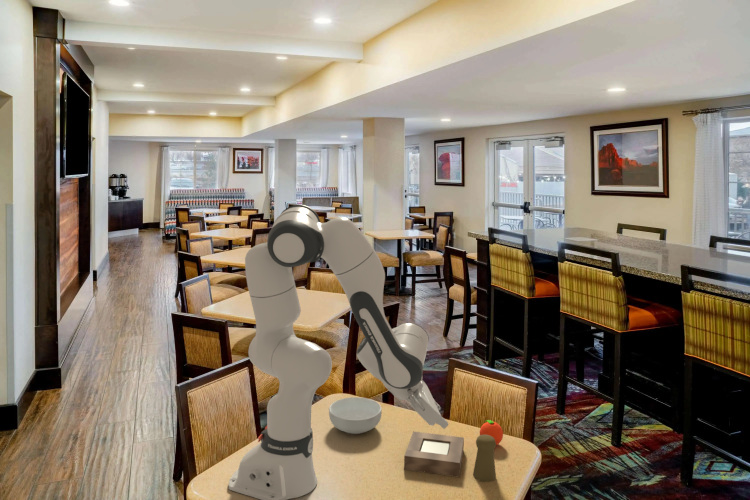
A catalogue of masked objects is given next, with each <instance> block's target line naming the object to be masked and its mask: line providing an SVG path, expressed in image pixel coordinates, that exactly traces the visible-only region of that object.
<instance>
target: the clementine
mask: <svg viewBox="0 0 750 500" xmlns="http://www.w3.org/2000/svg"><path fill="white" fill-rule="evenodd" d="M480 435H490V436H492V437H493V438H494V439H495V441H496V446H497V445H499V444H500V443H501V442H502V440H503V437H504V431H503V429H502V427H501V425H500V424H499V423H498V422H496V421H493V420H491V419H488V420H487V419H486V420H484V423H483V424H482V425H481V427H480V430H479V436H480Z"/></svg>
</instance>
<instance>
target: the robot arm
mask: <svg viewBox="0 0 750 500" xmlns="http://www.w3.org/2000/svg"><path fill="white" fill-rule="evenodd" d="M320 259H323V260H324V261H325V263H326V264H327V265H328V267H329V269H330V270H331V271H332V272H333V274H334V276H335V277H336V279H337V281H338V282H339V284H340V285H341V288H342V289H343V291H344V294H345V295H346V298H347V301H348V303H349V306H350V308H351V312H352V315H353V317H354V318H355V320H356V323H357V324H358V326H359V328H360V330H361V332H362V334H363V336H364V337H363V338H362V340H361V342H360V343H359V344H358V347H357V349H356V357H357V359H358V360H359V362H360V363H361V365H362V366H363V368H365V369H366V370H367V371H368V373H370V374H371V376H373V377H374V378H376V379H377V380H379V381H380V382H382V384H383V386H384V387H385V388H386V389H387V390H388V391H389V393H391V394H392V395H393V396H394V397H395V398H396V399H397V400H399V401H405V400H406V401H407V402H408V401H409V402H410V405H411V407H412V408H413V409H414V411H415V412H416V413H417V414H418V415H419V416H420V417H421V419H423V421H424V422H426V423H427V424H428V425H429V426H431V427H433V426H434V425H438V426H440V427H441V428H442V429H443V430H445V429H446V428H447V427H448V426H449V422H448V421H447V419H446V418H444V417H443V416H442V414H441V412H440V411H441V405H440V404H438V402H436V400H435V399H434V398H433V395H432V393H431V391H430V389H429V387H428V385H427V384H426V382H425V381H424V380H423V372H424V365H425V359H426V356H427V351H428V347H429V343H430V342H429V341H430V337H429V335H428V332H427V331H426V330H425V329H424V328H423V327H422V326H420V325H419V324H417V323H414V322H404V323H400V324H399V325H398V326H397V327H393V328H392V327H391V325H390V323H389V321H388V319H387V317H386V315H385V310H384V302H383V301H384V288H385V287H384V286H385V282H386V272H385V268H384V267H383V262H381V259H380V257H379V255H378V253H377V252H376V251H375V248H374V247H373V245H372V244H371V243H370V241H369V240H368V239H367V237H366V236H365V235H364V233H363V232H362V230H360V229H359V227H358V226H357V225H356V224H355V223H354V222H353V220H351V219H349V218H347V217H343V216H341V217H334V218H332V219H330V220H328V221H327V222H321V220H320V217H319V215H318V214H317V212H316V211H315V210H314V209H312V208H311V207H310V206H308V205H305V204H295V205H294V204H293V205H291V206H288V207H286V208H285V209H284V210H282V212H281V213H280V214H279V215H278V217H277V218H276V219H275V220H274V222H273V224H272V226H271V229H270V230H269V232H268V235H267V240H266V242H263V243H258V244H256V245H254V246H253V247H251V248H250V249H249V250H248V251H247V252H246V255H245V257H244V262H245V263H244V265H245V266H244V267H245V277H246V284H247V289H248V293H249V297H250V302H251V306H252V311H253V315H254V320H255V336H254V337H253V338H252V340H251V341H250V344H249V347H248V358H249V361H250V362H251V363H252V365H254V367H256V368H257V369H259V370H260V372H262V373H265V374H267V375H269V376H272V377H274V378H277V379H278V382H279V386H278V391H277V393H276V394H275V395H273V396H272V397H271V398H270V399H269V401H267V404H266V405H267V406H266V413H267V414H266V415H267V416H266V417H267V418H266V419H267V421H266V422H267V423H266V424H267V425H265V427H264V430H262V431H261V432H260V435H259V436H258V438H257V439H258V440H257V443H259V444H257V445H256V446H254V447H252V448H251V449H249V451H247V452H246V453H245V454H244V456H243V457H242V458H241V459H240V460H241V461H240V462H239V466H238V468H237V469H236V470H235V471H234V472H233V474H232V475H231V476H230V478H229V481H228V490H230V491H232V492H236V493H238V494H242V495H245V496H248V497H252V498H253V499H254V498H255V499H259V500H291V499H296V498H299V497H302V496H305V495H307V494H309V493H311V492H312V491H313V490H314V489H315V487H316V486H317V484H318V477H317V476H316V471H315V466H314V460H313V449H314V436H313V428H312V408H313V407H312V405H313V400H314V396H315V393H316V391H317V390H318V388H320V387H321V386H322V385H324V384H325V383H326V381H327V380H328V379H329V377H330V376H331V374H332V373H331V372H332V368H333V363H332V361H333V360H332V357H331V355H330V353H329V352H328V351H327V350H325V348H323V347H321V346H319V345H318V344H316V343H314V342H311V341H309V340H306V339H302V338H300V337H297V336H296V334H295V331H294V323H295V322H296V321H297V320H298V319H299V317H300V315H301V311H302V310H301V305H300V299H299V295H298V290H297V287H296V282H295V277H294V273H293V268H295V267H296V268H297V267H299V266H302V265H305V264H309V263H314V262H317V261H319V260H320Z"/></svg>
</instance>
